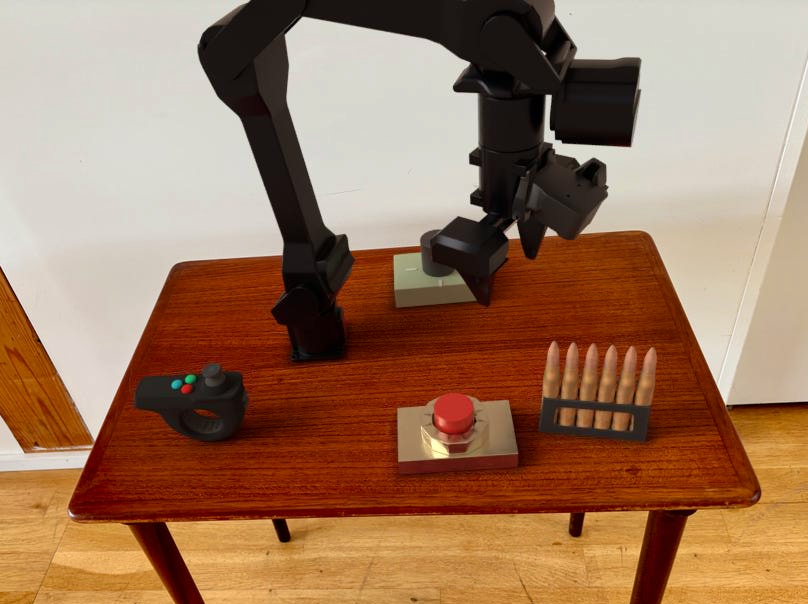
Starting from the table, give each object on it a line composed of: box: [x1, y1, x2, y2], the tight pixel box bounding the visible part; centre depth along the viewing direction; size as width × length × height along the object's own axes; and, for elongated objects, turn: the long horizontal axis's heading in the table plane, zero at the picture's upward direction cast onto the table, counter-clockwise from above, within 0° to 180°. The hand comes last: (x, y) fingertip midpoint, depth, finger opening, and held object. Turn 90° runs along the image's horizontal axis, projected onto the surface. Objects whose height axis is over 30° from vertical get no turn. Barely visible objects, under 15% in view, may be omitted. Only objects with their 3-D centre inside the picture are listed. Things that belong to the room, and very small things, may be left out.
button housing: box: [396, 394, 519, 476], centre depth 74 cm, size 12×8×4 cm, turn 89°
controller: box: [133, 362, 250, 442], centre depth 78 cm, size 4×12×10 cm, turn 85°
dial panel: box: [393, 252, 478, 309], centre depth 95 cm, size 12×9×3 cm
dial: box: [419, 228, 455, 277], centre depth 92 cm, size 4×4×5 cm
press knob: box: [434, 392, 474, 435], centre depth 72 cm, size 4×4×2 cm
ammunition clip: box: [538, 340, 658, 442], centre depth 70 cm, size 11×2×12 cm, turn 76°
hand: (508, 281), depth 73 cm, fingers open, 9 cm apart
